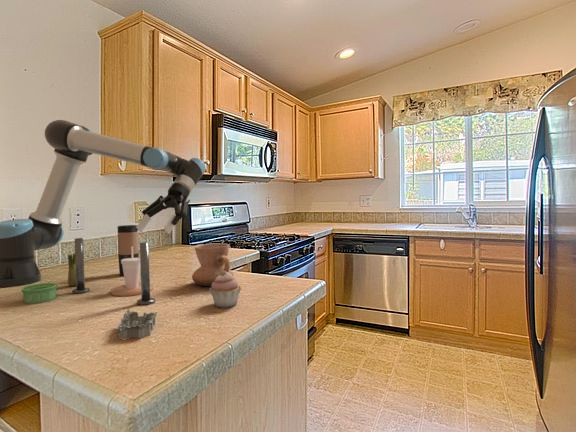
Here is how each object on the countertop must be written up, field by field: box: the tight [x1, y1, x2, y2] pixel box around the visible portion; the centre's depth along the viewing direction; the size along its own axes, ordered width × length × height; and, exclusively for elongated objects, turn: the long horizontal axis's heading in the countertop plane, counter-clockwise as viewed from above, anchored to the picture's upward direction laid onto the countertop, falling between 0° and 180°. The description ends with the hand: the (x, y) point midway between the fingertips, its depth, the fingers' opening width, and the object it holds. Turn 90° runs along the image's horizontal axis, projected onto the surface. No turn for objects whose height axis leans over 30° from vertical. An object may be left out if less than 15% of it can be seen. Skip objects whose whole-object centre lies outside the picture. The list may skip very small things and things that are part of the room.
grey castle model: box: [116, 308, 158, 341], centre depth 81 cm, size 11×8×4 cm
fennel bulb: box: [67, 251, 76, 287], centre depth 124 cm, size 6×5×12 cm
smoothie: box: [121, 246, 141, 289], centre depth 116 cm, size 6×6×14 cm
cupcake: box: [208, 271, 242, 309], centre depth 100 cm, size 9×9×10 cm
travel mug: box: [117, 224, 140, 277], centre depth 142 cm, size 8×8×20 cm
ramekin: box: [21, 282, 58, 305], centre depth 107 cm, size 9×9×4 cm
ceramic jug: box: [191, 242, 234, 287], centre depth 124 cm, size 18×14×14 cm
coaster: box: [110, 282, 154, 297], centre depth 117 cm, size 13×13×1 cm
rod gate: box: [71, 237, 156, 306], centre depth 109 cm, size 35×5×18 cm, turn 65°
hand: (152, 230), depth 123 cm, fingers open, 13 cm apart
